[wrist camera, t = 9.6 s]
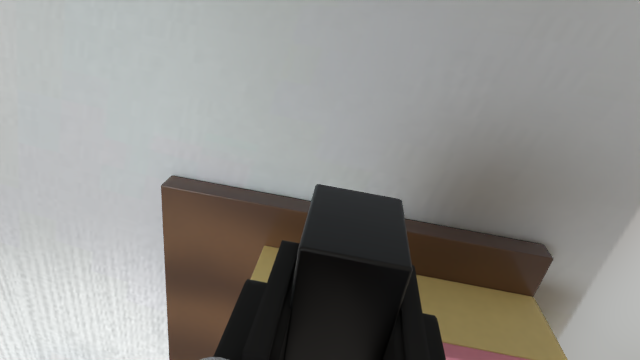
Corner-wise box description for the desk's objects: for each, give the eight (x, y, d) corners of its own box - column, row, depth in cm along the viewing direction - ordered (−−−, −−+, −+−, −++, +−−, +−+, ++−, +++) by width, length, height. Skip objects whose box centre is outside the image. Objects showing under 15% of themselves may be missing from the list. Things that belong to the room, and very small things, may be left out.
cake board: (171, 175, 21) (160, 185, 19) (543, 244, 20) (554, 258, 19) (177, 351, 27) (169, 366, 26) (460, 408, 26) (464, 426, 25)
